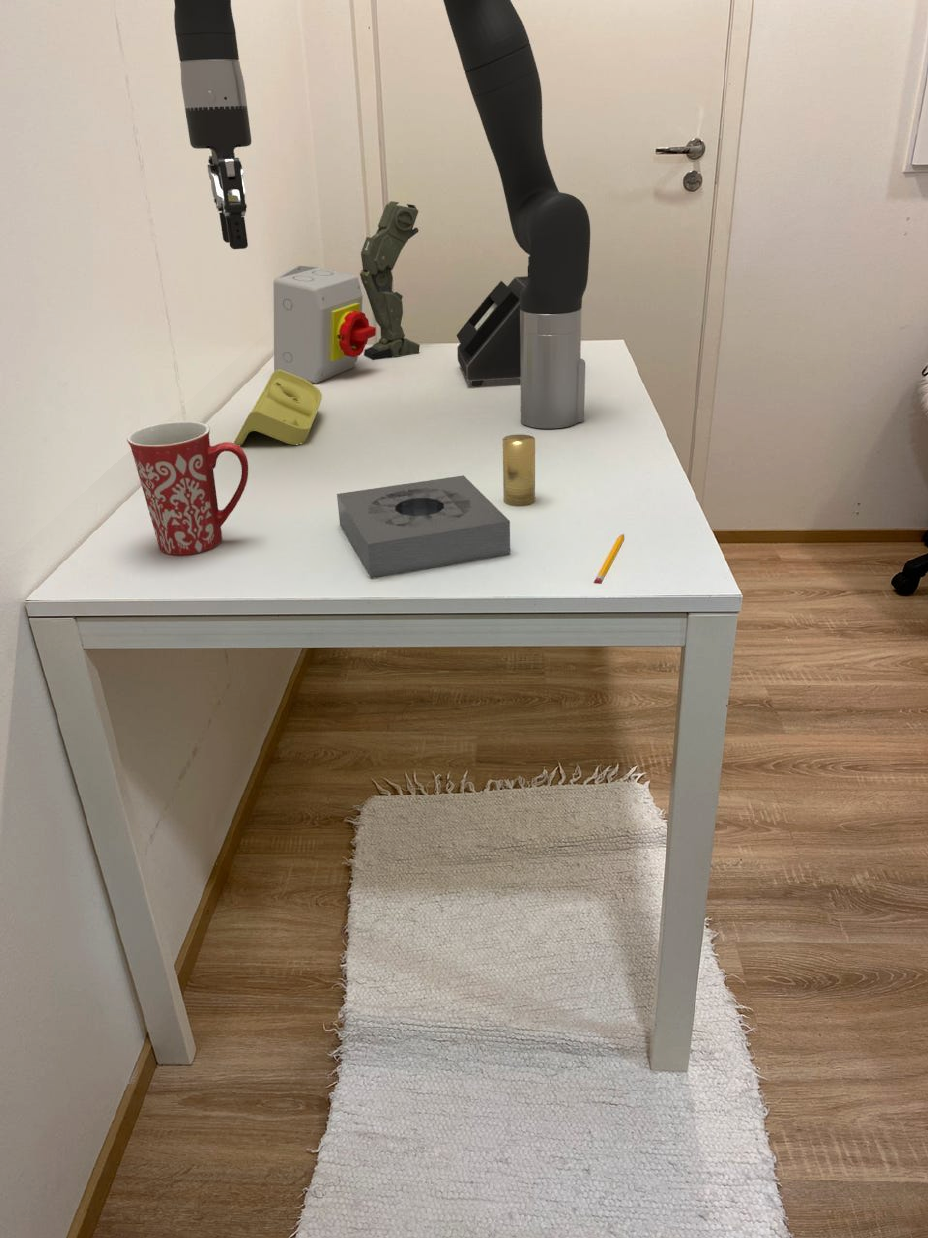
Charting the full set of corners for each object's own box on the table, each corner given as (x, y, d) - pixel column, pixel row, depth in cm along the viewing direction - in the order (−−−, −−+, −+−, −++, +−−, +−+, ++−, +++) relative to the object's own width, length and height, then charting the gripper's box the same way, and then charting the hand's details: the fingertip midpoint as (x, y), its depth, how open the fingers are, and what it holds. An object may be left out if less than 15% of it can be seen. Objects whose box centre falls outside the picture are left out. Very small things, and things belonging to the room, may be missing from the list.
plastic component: (308, 432, 140) (244, 406, 138) (292, 474, 144) (230, 449, 142) (326, 388, 157) (269, 364, 155) (312, 426, 161) (256, 403, 159)
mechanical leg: (357, 358, 188) (379, 197, 176) (344, 352, 193) (365, 195, 182) (419, 365, 194) (443, 210, 183) (404, 359, 200) (427, 208, 189)
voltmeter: (456, 367, 182) (452, 258, 173) (539, 362, 183) (540, 254, 174) (465, 388, 168) (461, 271, 158) (555, 383, 169) (557, 266, 160)
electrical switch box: (340, 398, 173) (344, 287, 162) (273, 380, 178) (273, 270, 167) (380, 379, 185) (386, 274, 174) (316, 362, 189) (318, 259, 179)
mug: (141, 561, 106) (116, 446, 100) (160, 530, 114) (138, 422, 108) (252, 556, 106) (234, 441, 100) (264, 525, 114) (248, 417, 108)
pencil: (593, 585, 98) (593, 579, 97) (620, 536, 109) (620, 530, 108) (601, 586, 98) (601, 580, 97) (627, 536, 108) (627, 531, 108)
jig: (464, 505, 118) (463, 475, 116) (510, 554, 105) (509, 521, 103) (340, 524, 114) (336, 493, 112) (370, 578, 100) (367, 544, 98)
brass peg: (528, 492, 121) (527, 432, 117) (539, 503, 118) (540, 441, 114) (499, 497, 120) (498, 436, 116) (510, 507, 117) (509, 446, 113)
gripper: (253, 101, 110) (272, 249, 118) (239, 104, 122) (257, 237, 130) (188, 104, 108) (211, 253, 116) (180, 106, 120) (201, 241, 128)
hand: (235, 245), depth 123 cm, fingers open, 8 cm apart
